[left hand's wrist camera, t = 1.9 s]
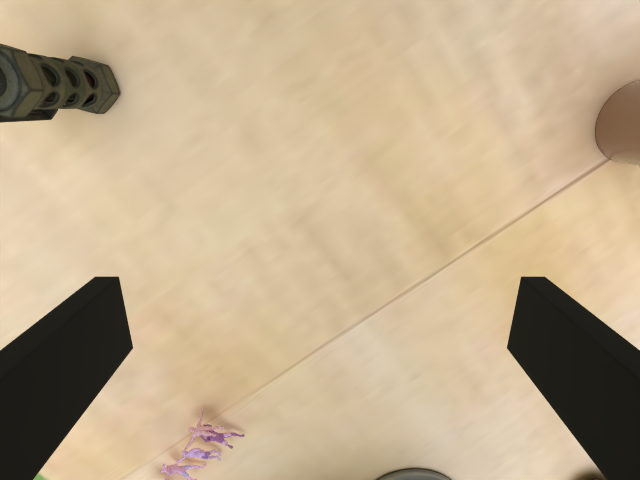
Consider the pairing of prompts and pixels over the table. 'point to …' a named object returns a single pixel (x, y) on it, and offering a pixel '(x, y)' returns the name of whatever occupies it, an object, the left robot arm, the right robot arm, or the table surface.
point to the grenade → (51, 85)
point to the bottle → (621, 126)
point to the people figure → (197, 451)
